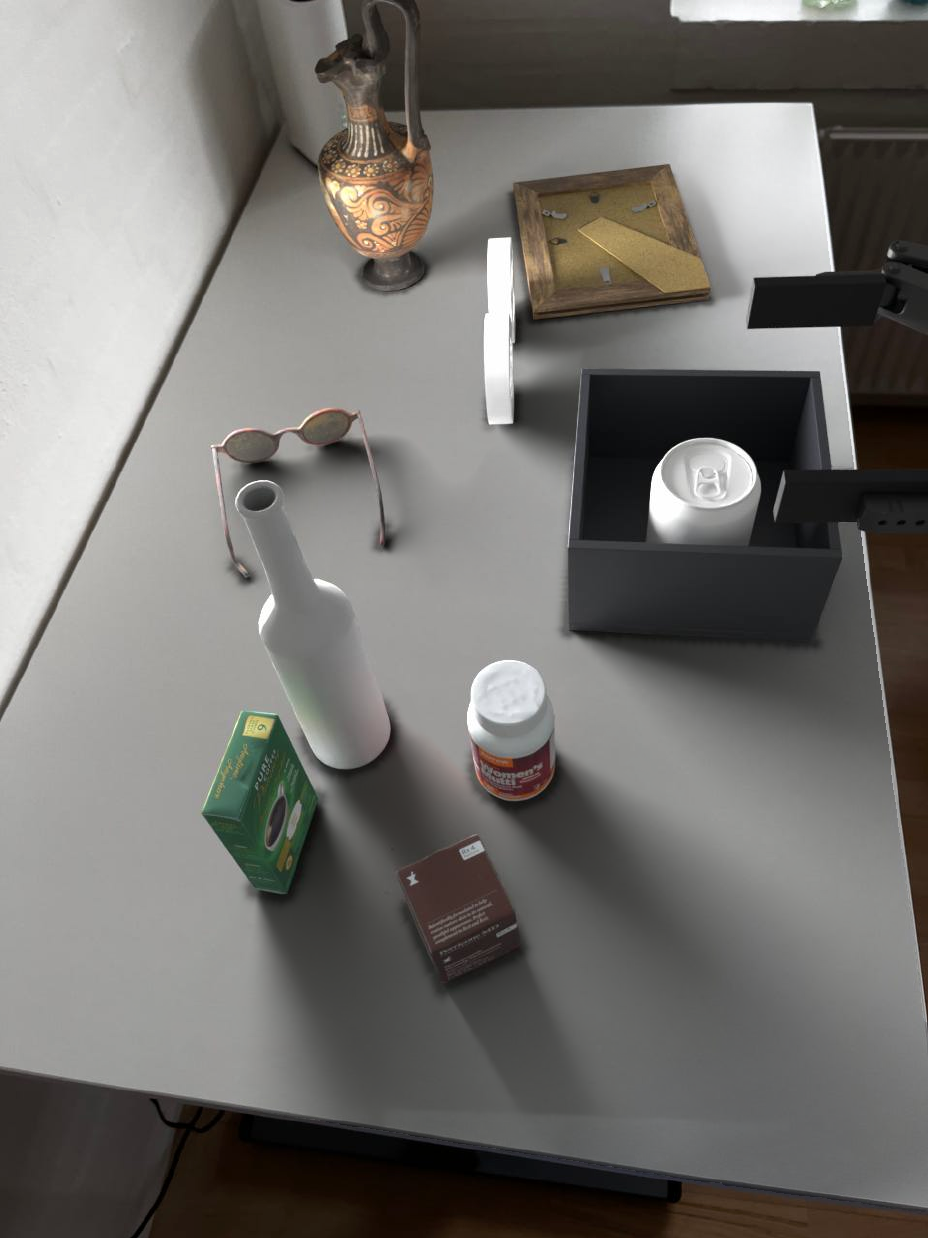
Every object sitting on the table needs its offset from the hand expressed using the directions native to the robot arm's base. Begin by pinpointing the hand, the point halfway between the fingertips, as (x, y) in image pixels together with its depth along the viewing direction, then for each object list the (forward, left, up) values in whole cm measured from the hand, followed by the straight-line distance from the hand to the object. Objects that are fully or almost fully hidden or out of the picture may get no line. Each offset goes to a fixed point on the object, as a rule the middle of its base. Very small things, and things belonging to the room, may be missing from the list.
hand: (762, 392), depth 48 cm
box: (-8, +22, -34) cm, 41 cm away
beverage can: (+13, -7, -33) cm, 36 cm away
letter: (+44, -2, -34) cm, 56 cm away
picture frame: (+58, -20, -34) cm, 70 cm away
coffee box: (+3, +32, -34) cm, 47 cm away
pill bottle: (+2, +14, -34) cm, 37 cm away
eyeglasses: (+35, +22, -34) cm, 54 cm away
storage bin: (+16, -8, -34) cm, 38 cm away
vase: (+64, +3, -34) cm, 73 cm away
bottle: (+10, +25, -34) cm, 44 cm away
